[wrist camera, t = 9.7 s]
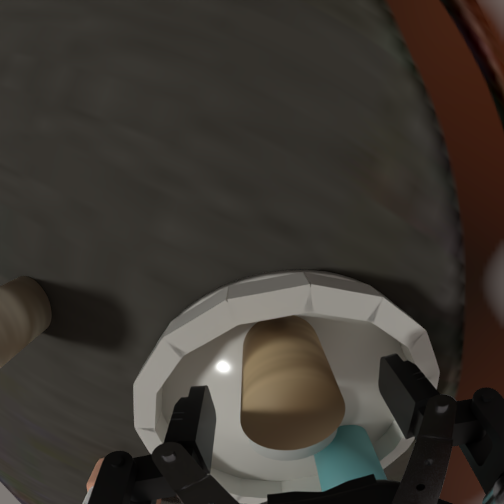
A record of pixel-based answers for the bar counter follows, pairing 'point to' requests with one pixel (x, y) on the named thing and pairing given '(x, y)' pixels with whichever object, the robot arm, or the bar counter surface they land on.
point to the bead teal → (347, 458)
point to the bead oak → (287, 386)
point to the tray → (230, 371)
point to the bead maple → (21, 315)
